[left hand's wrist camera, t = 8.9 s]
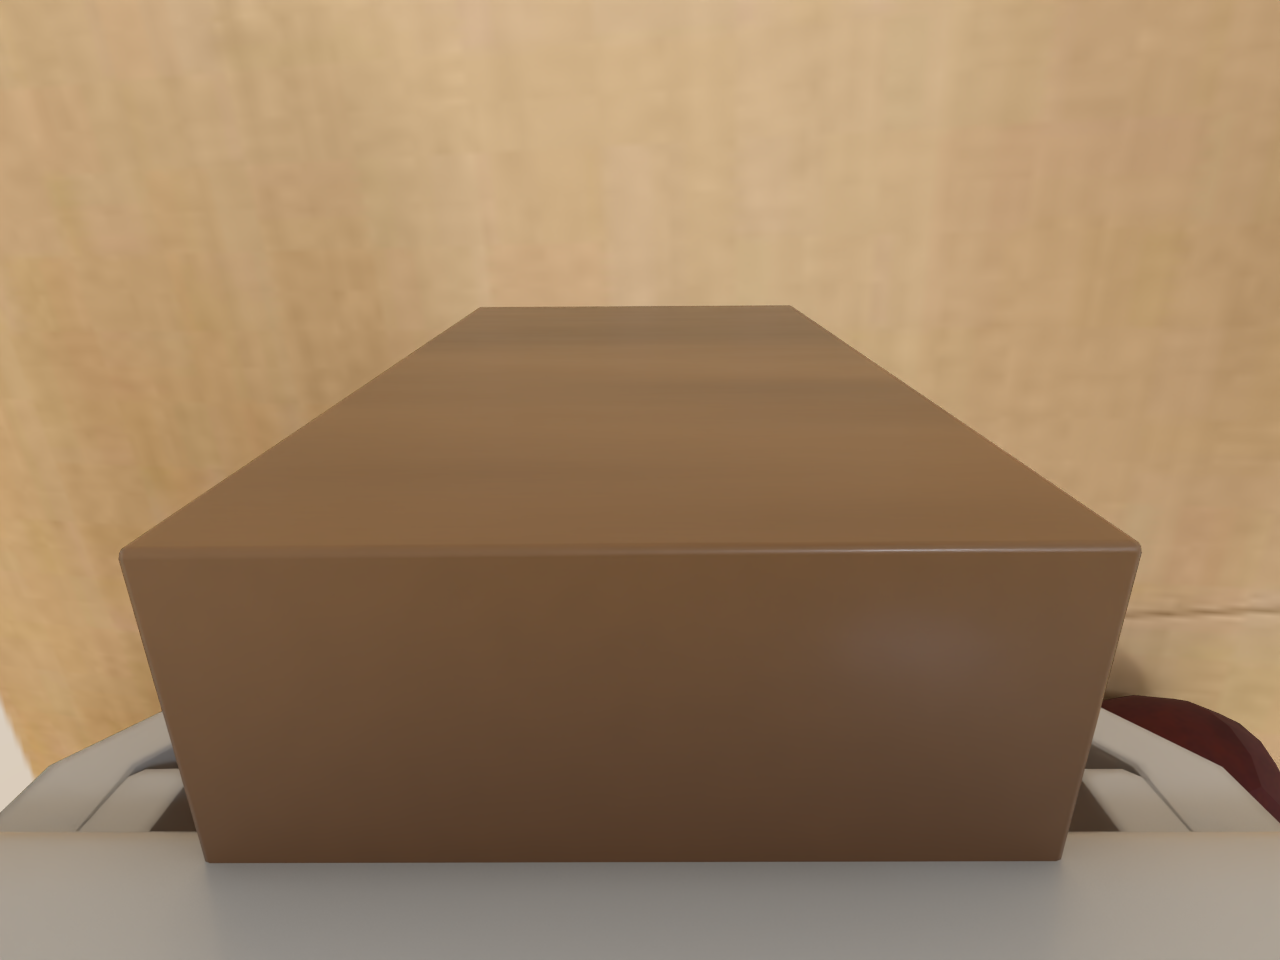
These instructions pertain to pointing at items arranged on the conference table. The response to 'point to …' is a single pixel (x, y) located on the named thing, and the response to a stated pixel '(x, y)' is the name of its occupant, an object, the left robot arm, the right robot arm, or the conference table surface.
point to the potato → (1207, 741)
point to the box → (632, 611)
